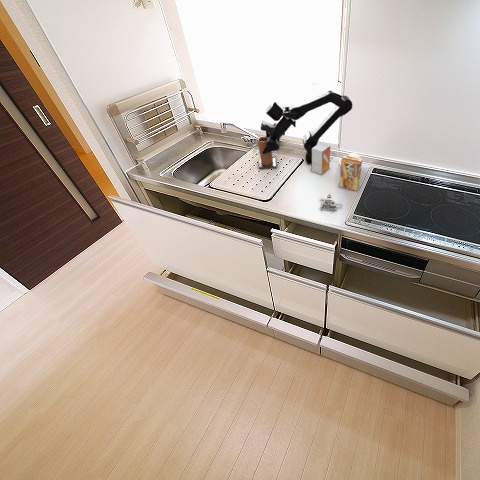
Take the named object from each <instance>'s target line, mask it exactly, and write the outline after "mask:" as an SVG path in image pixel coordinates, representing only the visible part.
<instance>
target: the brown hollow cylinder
mask: <svg viewBox="0 0 480 480" xmlns="http://www.w3.org/2000/svg"><path fill="white" fill-rule="evenodd" d="M268 138H269V137H265V136H260V137H258V138H257V145H258V151H259V159H261V164H262V165H271V164H272V163H273V158H274V157H273V151H271V152H268V153H266V154H263V153H262V152H263V150H264V148H265V147H266V145H267V143H266V140H267V139H268Z"/></svg>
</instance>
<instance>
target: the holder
mask: <svg viewBox="0 0 480 480" xmlns="http://www.w3.org/2000/svg"><path fill="white" fill-rule="evenodd" d="M272 158H273V163H272V164H271V165H262V164H261V158H259V159H258V169H259V170H269V169H277V161H276V157H272Z"/></svg>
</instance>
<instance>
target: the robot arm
mask: <svg viewBox="0 0 480 480" xmlns="http://www.w3.org/2000/svg"><path fill="white" fill-rule="evenodd" d="M330 103H331V104H333V105H334V107H333V109H332V110H331V111H330V113H328V115H327V116H326V117H325V118H324V119H323V120H322V121H321V122H320V124H318V126H317V127H316V128H315V129H314V130H313V131H309V130H308V131H306V134H304V135H303V138H302V145H303V147H304V149H305V151H306V152H305V154H304V155H305V162H306V164H307V165H312V148H313V147H315V146H316V145H318V144H319V140H320V139H321V137H322V136H323V135H324V134H325V133H326V132H327V131H328V130H329V129H330V128H331V127H332V126H333V125H334V123H336V122H337V121H338V119H339V118H342V117H344V116H346V115H347V114H348V113H349V112H351V111H352V110H353V105H354V104H353V102H352V100H351V99H350V97H349V96H347V95H341V94H339V93H337V92H334V91H332V90H327V91H326V92H324V93H321V94H319V95H317V96H315V97H312V98H310V99H308V100H305V101H299V102H294V103H290V105H288V106H283V107H281V105H279V103H277V102H276V101H275V100H274V101H273V102H271V103H270V104H269V105H268V106H267V108H266V109H265V112H264V113H265V114H266V115H267V116H268V117H269V118H271V119H272V120H273V121H274V123H271V122H268V121H265V120H262V121H261V124H260V130H261V131H263V132H265V136H264V137H269V138H268V139H267V140H266V143H267V145H266V147H265V148H264V150H263V152H262V153H263V154H266V153H268V152H271V151H272V152H276V151H279V149H280V143H279V142H280V141H281V138H282V137H283V136H286V132H287V131H288V130H289V129H290V128H291V126H293V127H294V128H296V127H297V125H296V123H297V121H298V120H300V119H301V118H303V117H304V116H305V115H306V114H307V113H309V112H311V111H313V110H315V109H317V108H320V107H322V106H324V105H327V104H330Z"/></svg>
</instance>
